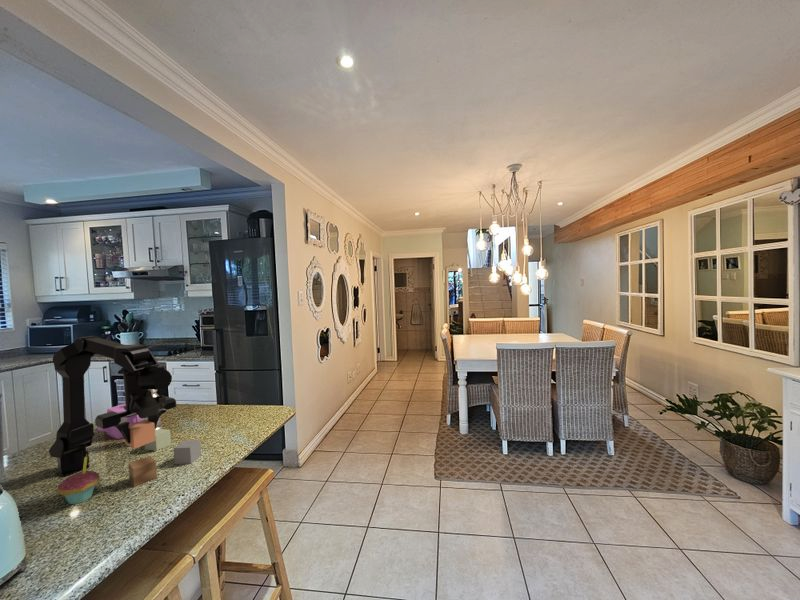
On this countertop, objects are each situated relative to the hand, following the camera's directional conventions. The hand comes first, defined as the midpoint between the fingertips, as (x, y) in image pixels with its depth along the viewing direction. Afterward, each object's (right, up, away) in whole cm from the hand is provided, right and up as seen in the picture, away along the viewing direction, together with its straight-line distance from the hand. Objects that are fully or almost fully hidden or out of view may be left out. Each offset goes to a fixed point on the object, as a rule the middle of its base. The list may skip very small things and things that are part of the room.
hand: (140, 439), depth 102 cm
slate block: (+7, -12, +12) cm, 18 cm away
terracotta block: (0, -1, 0) cm, 1 cm away
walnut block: (0, -13, +1) cm, 13 cm away
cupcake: (-10, -14, -8) cm, 19 cm away
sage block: (-10, -12, +22) cm, 27 cm away
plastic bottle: (-16, -12, +28) cm, 34 cm away
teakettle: (-33, -12, +39) cm, 52 cm away
